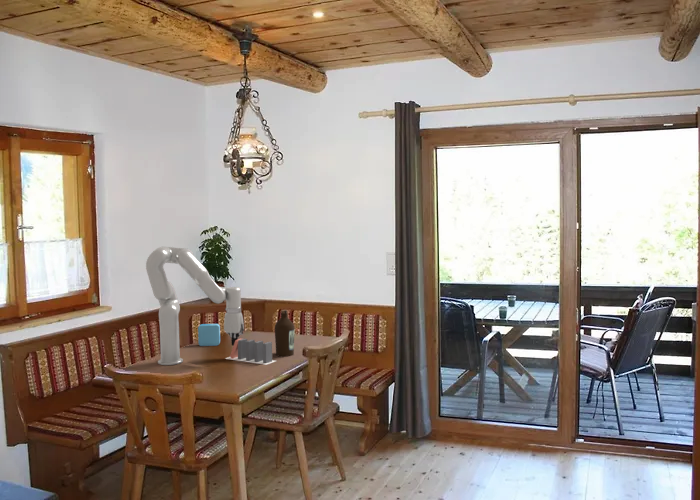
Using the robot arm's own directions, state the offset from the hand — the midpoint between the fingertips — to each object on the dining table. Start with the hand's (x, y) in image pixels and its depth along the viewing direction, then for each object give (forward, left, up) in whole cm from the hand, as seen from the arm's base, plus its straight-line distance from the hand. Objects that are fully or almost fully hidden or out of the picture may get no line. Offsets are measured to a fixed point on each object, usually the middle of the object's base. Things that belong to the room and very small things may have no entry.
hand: (234, 345), depth 342 cm
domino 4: (+19, +11, -7) cm, 22 cm away
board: (+9, +5, -8) cm, 13 cm away
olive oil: (+8, +25, -8) cm, 28 cm away
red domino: (0, 0, -6) cm, 6 cm away
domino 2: (+9, +5, -7) cm, 12 cm away
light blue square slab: (-41, -1, -8) cm, 42 cm away
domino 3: (+14, +8, -7) cm, 17 cm away
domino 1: (+4, +2, -7) cm, 8 cm away
